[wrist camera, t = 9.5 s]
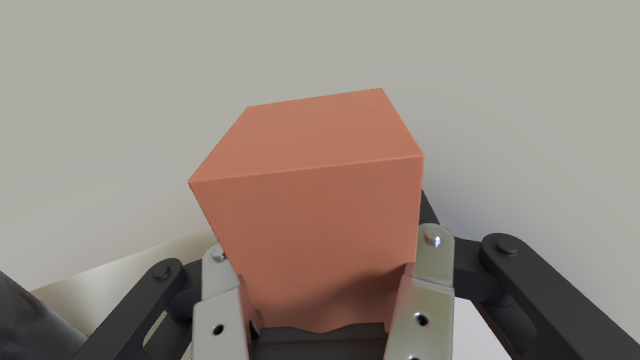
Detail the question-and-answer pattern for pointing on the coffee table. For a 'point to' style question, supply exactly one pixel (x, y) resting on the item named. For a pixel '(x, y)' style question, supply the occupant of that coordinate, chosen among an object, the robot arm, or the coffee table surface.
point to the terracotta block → (316, 207)
